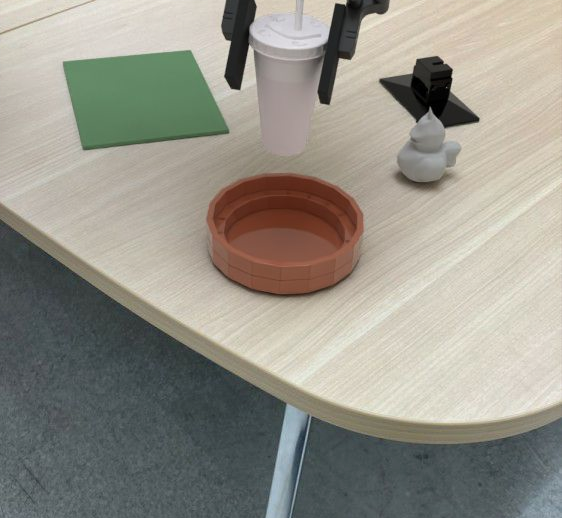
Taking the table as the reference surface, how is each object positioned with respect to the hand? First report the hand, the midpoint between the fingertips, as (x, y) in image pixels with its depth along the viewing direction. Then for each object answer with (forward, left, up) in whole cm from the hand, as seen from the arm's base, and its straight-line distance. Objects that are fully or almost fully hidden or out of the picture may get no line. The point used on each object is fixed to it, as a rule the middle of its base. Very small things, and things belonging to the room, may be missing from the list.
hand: (277, 90), depth 59 cm
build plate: (+27, +26, -17) cm, 41 cm away
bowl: (+2, +3, -17) cm, 17 cm away
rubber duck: (+20, +11, -17) cm, 28 cm away
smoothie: (+2, +3, -7) cm, 8 cm away
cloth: (-6, +34, -17) cm, 38 cm away
